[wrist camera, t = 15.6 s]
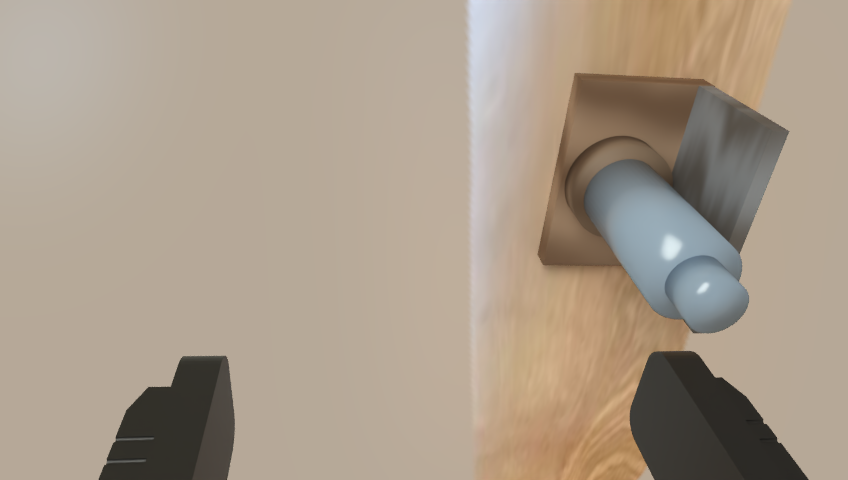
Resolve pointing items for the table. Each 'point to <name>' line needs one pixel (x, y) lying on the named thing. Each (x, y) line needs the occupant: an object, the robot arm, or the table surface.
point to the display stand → (658, 156)
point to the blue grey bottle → (667, 246)
